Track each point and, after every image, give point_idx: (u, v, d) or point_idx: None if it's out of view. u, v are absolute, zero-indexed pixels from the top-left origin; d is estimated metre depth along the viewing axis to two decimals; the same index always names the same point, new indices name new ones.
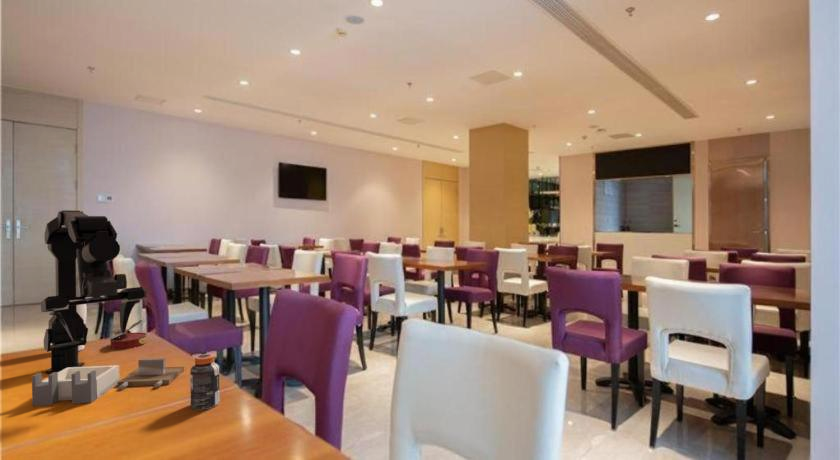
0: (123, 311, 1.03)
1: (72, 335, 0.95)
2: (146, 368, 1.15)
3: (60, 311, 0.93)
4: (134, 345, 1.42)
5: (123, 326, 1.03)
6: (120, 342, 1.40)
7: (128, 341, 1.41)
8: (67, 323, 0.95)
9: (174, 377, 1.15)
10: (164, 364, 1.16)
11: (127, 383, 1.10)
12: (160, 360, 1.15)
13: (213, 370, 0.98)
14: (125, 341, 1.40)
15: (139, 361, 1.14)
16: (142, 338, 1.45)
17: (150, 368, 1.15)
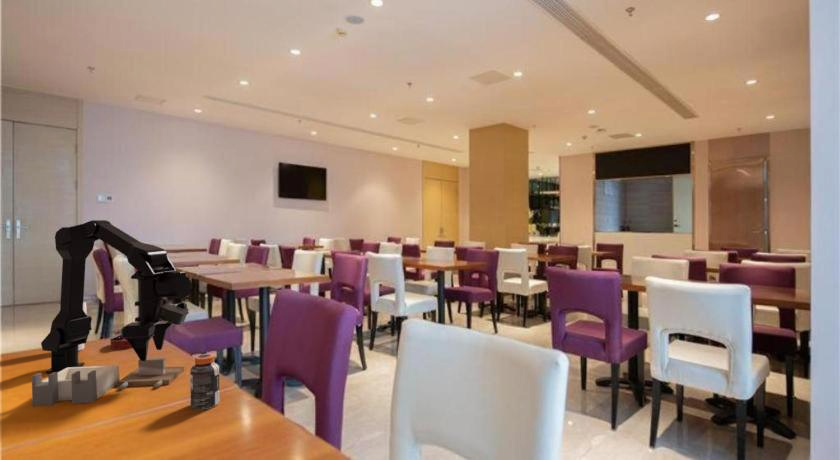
0: (162, 331, 1.20)
1: (146, 356, 1.11)
2: (146, 368, 1.15)
3: (150, 337, 1.09)
4: None
5: (161, 344, 1.20)
6: (120, 342, 1.40)
7: None
8: (146, 346, 1.10)
9: (174, 377, 1.15)
10: (164, 364, 1.16)
11: (127, 383, 1.10)
12: (160, 360, 1.15)
13: (213, 370, 0.98)
14: (125, 341, 1.40)
15: (139, 361, 1.14)
16: None
17: (150, 368, 1.15)
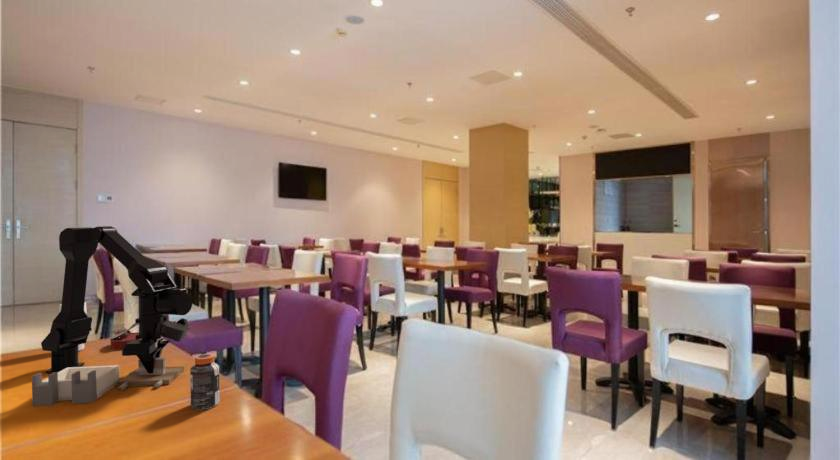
0: (157, 351, 1.17)
1: (153, 368, 1.14)
2: None
3: (157, 350, 1.12)
4: None
5: None
6: (120, 342, 1.40)
7: (128, 341, 1.41)
8: (153, 359, 1.14)
9: (174, 377, 1.15)
10: (164, 364, 1.16)
11: (127, 383, 1.10)
12: (160, 360, 1.15)
13: (213, 370, 0.98)
14: (125, 341, 1.40)
15: (139, 361, 1.14)
16: None
17: None
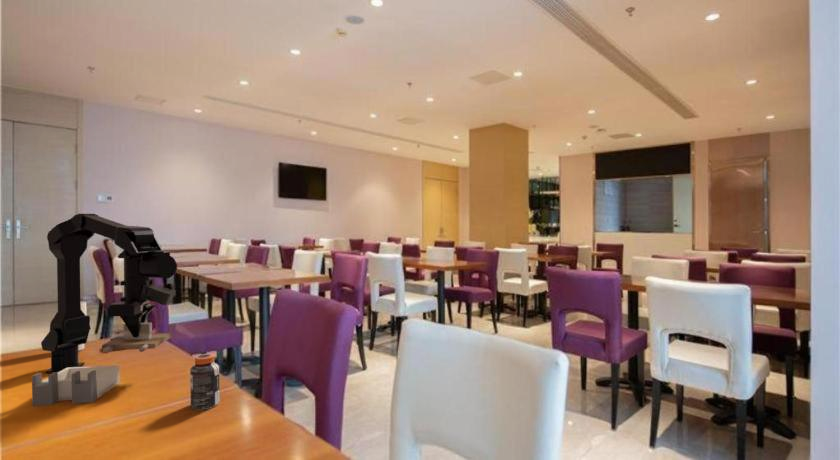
0: (142, 316, 1.15)
1: (138, 332, 1.12)
2: None
3: (143, 313, 1.10)
4: None
5: None
6: None
7: None
8: (139, 322, 1.11)
9: (160, 342, 1.13)
10: (150, 329, 1.14)
11: (112, 346, 1.08)
12: (145, 325, 1.13)
13: (213, 370, 0.98)
14: None
15: (124, 325, 1.12)
16: None
17: None
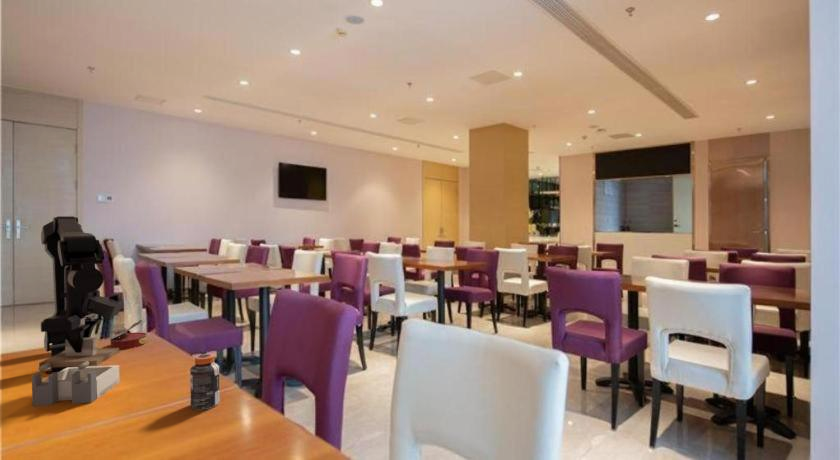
0: (87, 329, 1.08)
1: (80, 347, 1.05)
2: None
3: (84, 327, 1.03)
4: (133, 345, 1.42)
5: None
6: (120, 342, 1.40)
7: (128, 341, 1.41)
8: (81, 337, 1.04)
9: (104, 358, 1.06)
10: (94, 344, 1.07)
11: (50, 364, 1.01)
12: (89, 340, 1.06)
13: (213, 370, 0.98)
14: (125, 341, 1.40)
15: (66, 341, 1.05)
16: (142, 338, 1.45)
17: None
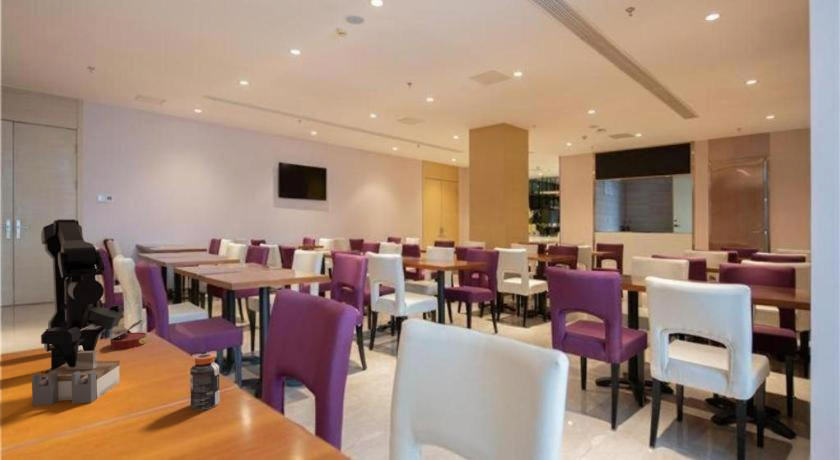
0: (93, 338, 1.10)
1: (75, 362, 1.03)
2: None
3: (78, 341, 1.01)
4: (133, 345, 1.42)
5: None
6: (120, 342, 1.40)
7: (128, 341, 1.41)
8: (75, 351, 1.02)
9: (105, 372, 1.06)
10: (94, 358, 1.07)
11: None
12: (89, 354, 1.06)
13: (213, 370, 0.98)
14: (125, 341, 1.40)
15: None
16: (142, 338, 1.45)
17: (78, 362, 1.06)
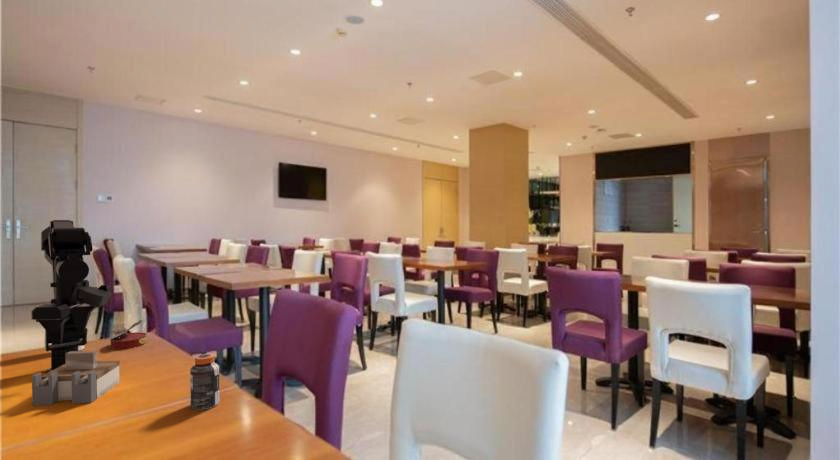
0: (85, 314, 1.16)
1: (61, 339, 1.06)
2: (74, 362, 1.06)
3: (64, 319, 1.04)
4: (133, 345, 1.42)
5: (84, 328, 1.16)
6: (120, 342, 1.40)
7: (128, 341, 1.41)
8: (61, 329, 1.05)
9: (105, 372, 1.06)
10: (94, 358, 1.07)
11: None
12: (89, 354, 1.06)
13: (213, 370, 0.98)
14: (125, 341, 1.40)
15: (66, 354, 1.05)
16: (142, 338, 1.44)
17: (78, 362, 1.06)
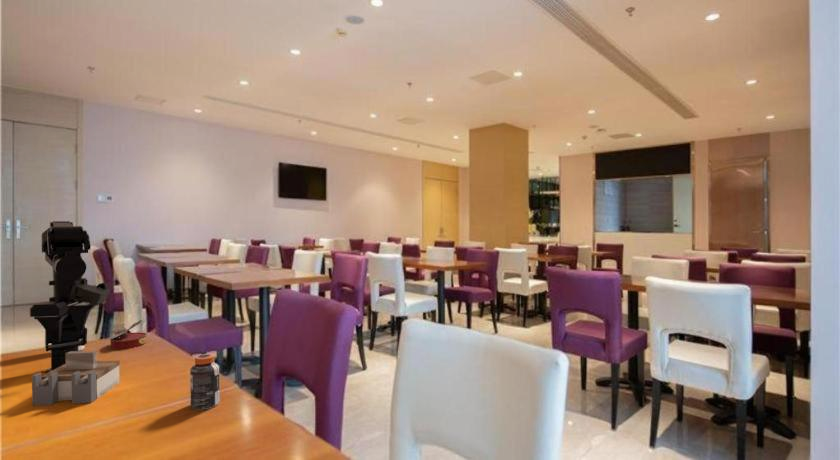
0: (83, 313, 1.16)
1: (59, 337, 1.06)
2: (74, 362, 1.06)
3: (62, 317, 1.05)
4: (133, 345, 1.42)
5: (82, 326, 1.16)
6: (120, 342, 1.40)
7: (128, 341, 1.41)
8: (59, 326, 1.06)
9: (105, 372, 1.06)
10: (94, 358, 1.07)
11: None
12: (89, 354, 1.06)
13: (213, 370, 0.98)
14: (125, 341, 1.40)
15: (66, 354, 1.05)
16: (142, 338, 1.44)
17: (78, 362, 1.06)
